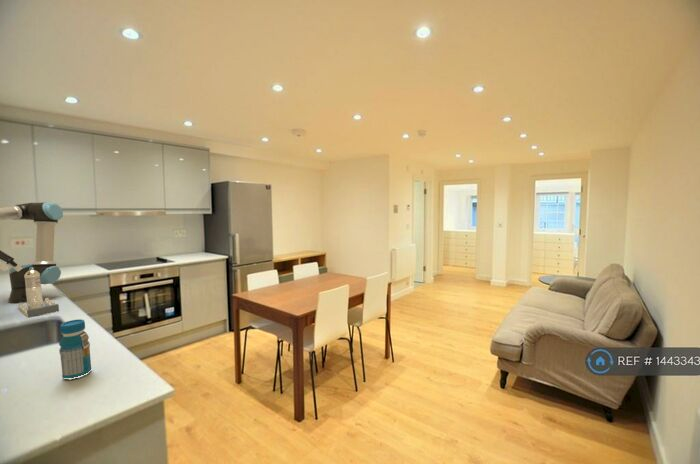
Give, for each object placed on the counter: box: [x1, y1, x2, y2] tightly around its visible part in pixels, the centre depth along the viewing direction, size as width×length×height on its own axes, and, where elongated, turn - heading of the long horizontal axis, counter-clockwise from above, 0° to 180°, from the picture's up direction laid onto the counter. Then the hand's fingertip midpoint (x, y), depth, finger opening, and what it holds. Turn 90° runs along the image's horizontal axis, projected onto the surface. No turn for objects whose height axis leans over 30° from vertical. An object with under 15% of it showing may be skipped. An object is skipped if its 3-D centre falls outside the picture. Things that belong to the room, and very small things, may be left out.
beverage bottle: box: [58, 318, 92, 379], centre depth 116 cm, size 8×8×20 cm
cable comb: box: [17, 297, 56, 318], centre depth 190 cm, size 26×13×4 cm, turn 54°
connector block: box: [27, 303, 60, 318], centre depth 182 cm, size 2×13×4 cm, turn 144°
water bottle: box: [24, 267, 44, 310], centre depth 193 cm, size 7×7×25 cm
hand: (13, 270), depth 183 cm, fingers open, 13 cm apart
